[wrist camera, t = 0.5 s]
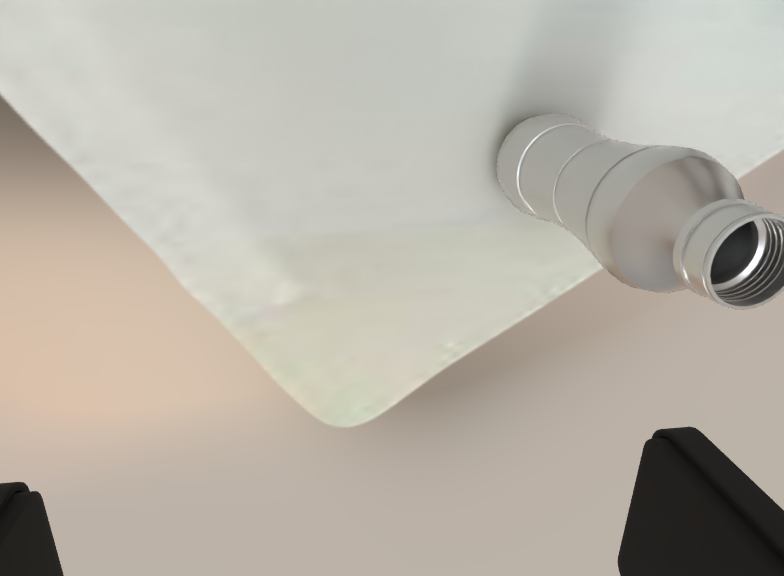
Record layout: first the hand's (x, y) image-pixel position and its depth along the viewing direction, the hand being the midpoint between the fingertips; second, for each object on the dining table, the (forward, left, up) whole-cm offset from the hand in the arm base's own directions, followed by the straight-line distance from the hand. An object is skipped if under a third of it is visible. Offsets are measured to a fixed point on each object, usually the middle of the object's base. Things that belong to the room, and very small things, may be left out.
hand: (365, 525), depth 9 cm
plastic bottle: (0, +15, -30) cm, 33 cm away
